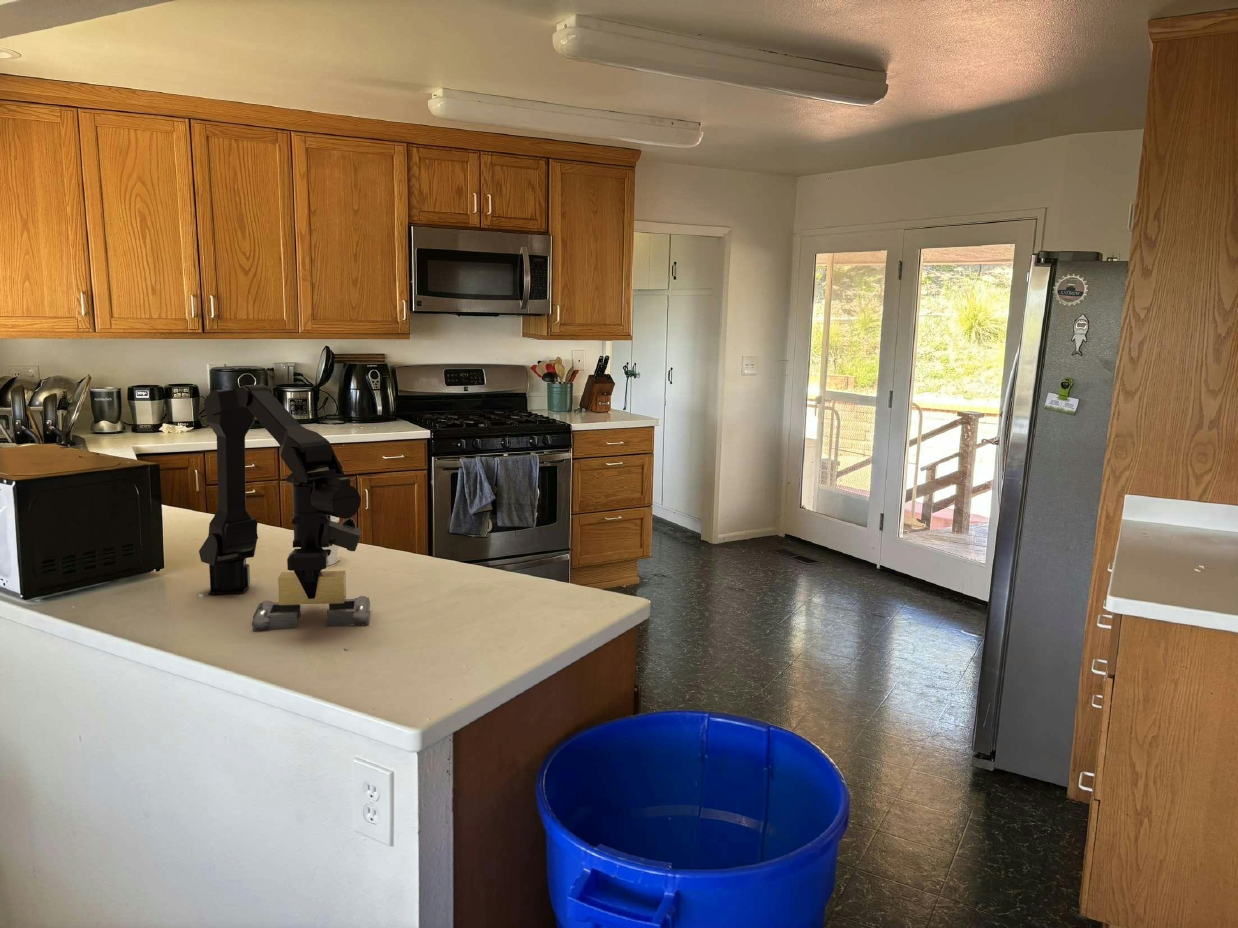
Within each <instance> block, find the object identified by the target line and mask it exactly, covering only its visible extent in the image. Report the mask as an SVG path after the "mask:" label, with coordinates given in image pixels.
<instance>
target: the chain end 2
mask: <svg viewBox="0 0 1238 928" xmlns="http://www.w3.org/2000/svg"><path fill="white" fill-rule="evenodd" d="M370 606H371V601H370V597H367V596H366V595H360V596H358V597H355V598H346V599H345V602H344V603H336V604H328V609H327V610H326V626H327V627H339V626H341V627H342V626H368V625H369V620H370V608H371V607H370Z"/></svg>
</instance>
